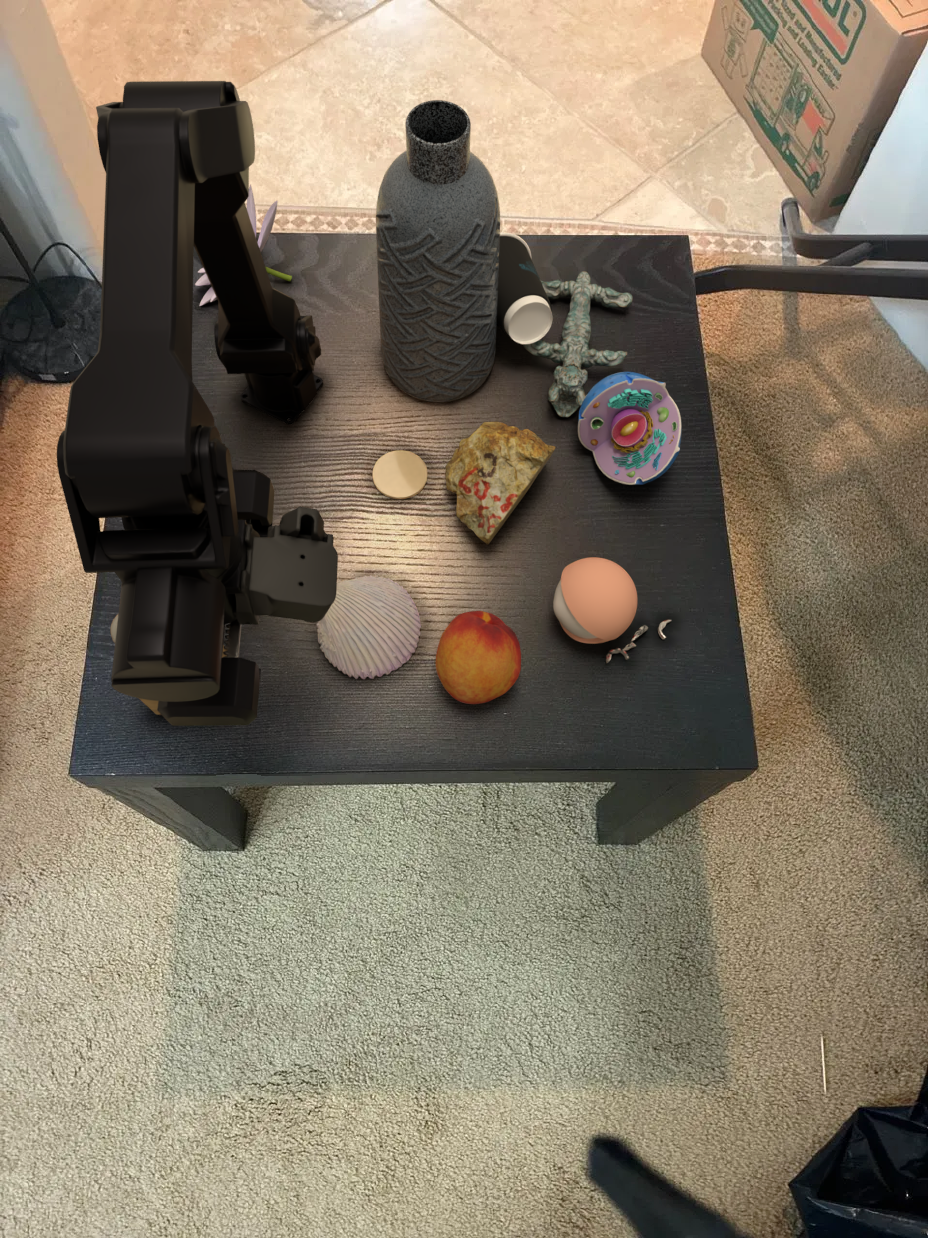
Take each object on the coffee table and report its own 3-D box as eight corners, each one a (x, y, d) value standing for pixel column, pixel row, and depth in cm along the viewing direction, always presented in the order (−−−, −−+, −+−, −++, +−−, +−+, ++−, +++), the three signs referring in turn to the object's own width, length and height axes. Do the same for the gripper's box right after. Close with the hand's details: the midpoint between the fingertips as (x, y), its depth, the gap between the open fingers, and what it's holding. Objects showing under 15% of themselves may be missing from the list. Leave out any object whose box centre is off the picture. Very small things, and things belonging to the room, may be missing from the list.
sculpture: (508, 416, 91) (513, 381, 87) (531, 291, 101) (536, 254, 97) (615, 432, 91) (625, 398, 87) (628, 305, 100) (637, 269, 96)
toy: (680, 629, 82) (668, 611, 83) (612, 667, 80) (600, 647, 81) (675, 633, 84) (663, 615, 84) (608, 670, 81) (596, 651, 82)
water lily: (312, 200, 99) (242, 153, 94) (336, 255, 90) (259, 206, 84) (249, 305, 106) (180, 266, 100) (264, 367, 96) (188, 328, 91)
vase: (412, 299, 97) (402, 50, 71) (512, 337, 96) (539, 97, 69) (362, 379, 93) (332, 146, 67) (465, 421, 91) (476, 199, 65)
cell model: (633, 520, 88) (582, 477, 81) (596, 440, 95) (547, 395, 88) (719, 462, 84) (673, 411, 77) (674, 383, 90) (628, 330, 84)
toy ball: (537, 588, 84) (546, 551, 77) (612, 571, 85) (629, 533, 78) (561, 664, 81) (573, 633, 74) (639, 645, 82) (658, 613, 75)
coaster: (362, 484, 88) (361, 481, 88) (390, 443, 90) (390, 441, 90) (409, 508, 87) (409, 506, 87) (437, 467, 89) (437, 464, 89)
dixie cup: (497, 366, 91) (466, 308, 98) (568, 344, 92) (533, 288, 98) (489, 300, 85) (457, 243, 91) (566, 277, 85) (528, 222, 92)
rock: (496, 548, 91) (498, 551, 81) (424, 507, 91) (417, 505, 81) (553, 449, 90) (562, 440, 80) (480, 407, 90) (480, 393, 80)
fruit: (536, 667, 81) (546, 636, 74) (479, 730, 79) (484, 705, 72) (473, 615, 83) (476, 580, 76) (415, 675, 81) (413, 644, 73)
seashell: (347, 542, 82) (433, 583, 79) (361, 573, 87) (443, 613, 83) (281, 625, 79) (369, 673, 75) (300, 653, 83) (383, 699, 80)
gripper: (314, 687, 51) (342, 750, 66) (328, 420, 58) (350, 530, 73) (122, 688, 51) (193, 751, 65) (160, 420, 58) (216, 530, 72)
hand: (244, 635), depth 69 cm, fingers open, 9 cm apart
